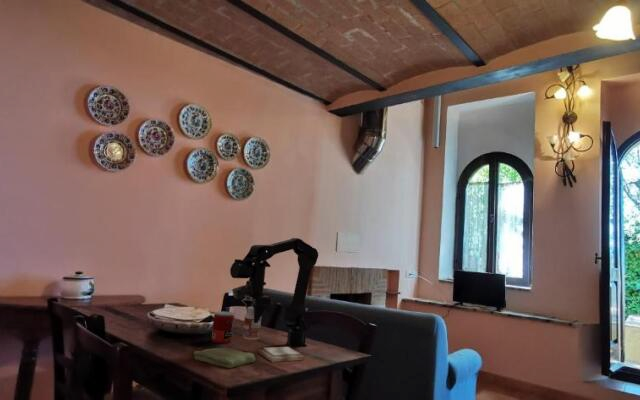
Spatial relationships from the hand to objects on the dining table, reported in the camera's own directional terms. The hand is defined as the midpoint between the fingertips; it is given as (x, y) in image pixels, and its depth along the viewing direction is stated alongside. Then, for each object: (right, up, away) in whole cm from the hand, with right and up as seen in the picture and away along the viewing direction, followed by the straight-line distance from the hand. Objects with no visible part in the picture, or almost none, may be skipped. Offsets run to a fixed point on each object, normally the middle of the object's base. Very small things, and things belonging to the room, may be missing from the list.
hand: (252, 321), depth 155 cm
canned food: (-14, -11, +10) cm, 20 cm away
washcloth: (-7, -9, -17) cm, 20 cm away
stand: (+11, -11, -6) cm, 17 cm away
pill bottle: (-1, -6, -1) cm, 6 cm away
